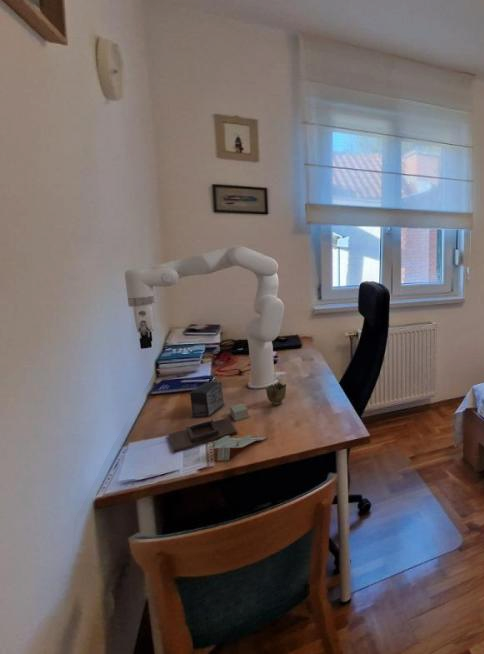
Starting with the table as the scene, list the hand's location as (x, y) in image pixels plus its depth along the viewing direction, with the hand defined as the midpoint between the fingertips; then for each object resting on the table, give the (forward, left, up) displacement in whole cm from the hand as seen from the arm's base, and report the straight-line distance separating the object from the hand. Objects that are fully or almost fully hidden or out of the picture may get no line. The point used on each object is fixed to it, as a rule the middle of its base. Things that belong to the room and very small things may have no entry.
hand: (146, 344), depth 158 cm
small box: (-16, +11, -29) cm, 34 cm away
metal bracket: (-17, +50, -29) cm, 60 cm away
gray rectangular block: (-24, +24, -29) cm, 44 cm away
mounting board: (-11, +32, -29) cm, 44 cm away
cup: (-38, +23, -29) cm, 53 cm away
